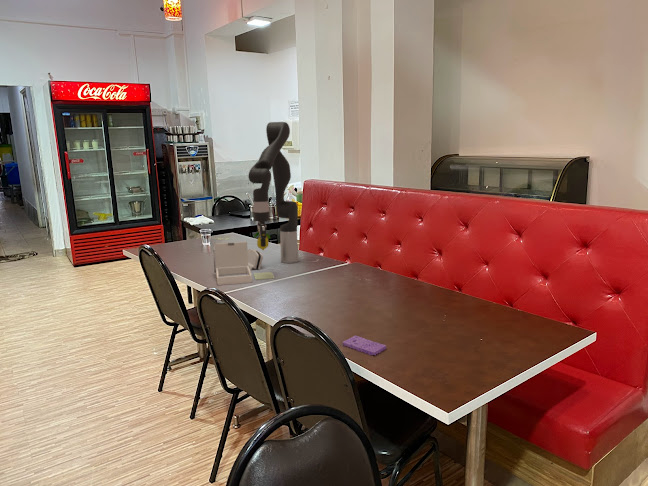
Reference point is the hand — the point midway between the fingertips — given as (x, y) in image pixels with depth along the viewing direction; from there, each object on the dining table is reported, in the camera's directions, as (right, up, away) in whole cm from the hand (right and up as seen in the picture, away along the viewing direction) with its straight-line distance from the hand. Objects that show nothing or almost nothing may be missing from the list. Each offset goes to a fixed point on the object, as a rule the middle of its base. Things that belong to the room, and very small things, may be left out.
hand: (262, 245), depth 237 cm
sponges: (+43, -33, -81) cm, 97 cm away
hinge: (-8, -12, +23) cm, 27 cm away
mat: (0, -15, +3) cm, 16 cm away
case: (-15, -16, +1) cm, 22 cm away
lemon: (0, -3, 0) cm, 3 cm away
